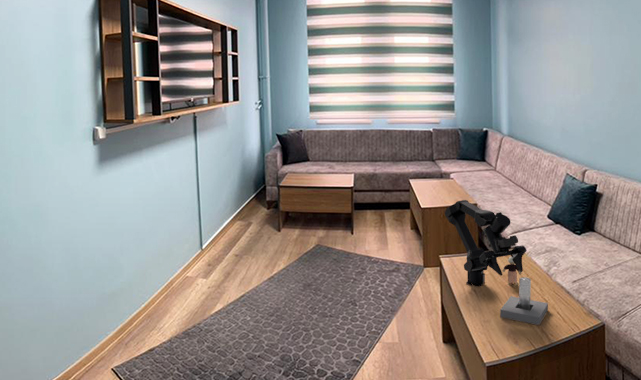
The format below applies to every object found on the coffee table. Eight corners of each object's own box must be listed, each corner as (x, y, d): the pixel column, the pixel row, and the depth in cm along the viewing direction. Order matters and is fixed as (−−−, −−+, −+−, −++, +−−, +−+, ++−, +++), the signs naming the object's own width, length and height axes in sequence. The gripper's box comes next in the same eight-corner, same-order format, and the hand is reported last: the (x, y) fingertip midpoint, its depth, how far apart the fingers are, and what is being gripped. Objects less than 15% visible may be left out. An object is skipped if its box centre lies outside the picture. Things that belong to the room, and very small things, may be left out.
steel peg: (517, 314, 197) (518, 280, 194) (520, 310, 200) (520, 276, 197) (528, 316, 194) (529, 282, 192) (530, 312, 198) (531, 278, 195)
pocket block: (500, 316, 196) (500, 309, 195) (510, 303, 207) (510, 296, 206) (539, 325, 188) (539, 317, 187) (547, 310, 199) (548, 303, 198)
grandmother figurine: (520, 282, 226) (521, 255, 223) (521, 286, 222) (521, 258, 220) (502, 281, 228) (502, 254, 226) (502, 285, 225) (502, 257, 222)
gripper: (483, 232, 201) (500, 268, 193) (524, 226, 206) (542, 260, 198) (472, 245, 210) (487, 280, 202) (511, 239, 215) (528, 273, 207)
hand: (511, 273), depth 202 cm, fingers open, 9 cm apart
